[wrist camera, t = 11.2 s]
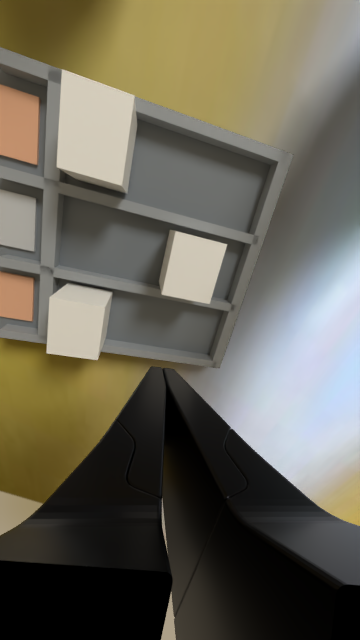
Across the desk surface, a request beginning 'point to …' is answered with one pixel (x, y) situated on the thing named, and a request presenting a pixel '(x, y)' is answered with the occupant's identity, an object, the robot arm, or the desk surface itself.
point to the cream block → (78, 321)
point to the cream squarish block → (96, 132)
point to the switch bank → (127, 221)
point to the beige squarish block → (190, 267)
